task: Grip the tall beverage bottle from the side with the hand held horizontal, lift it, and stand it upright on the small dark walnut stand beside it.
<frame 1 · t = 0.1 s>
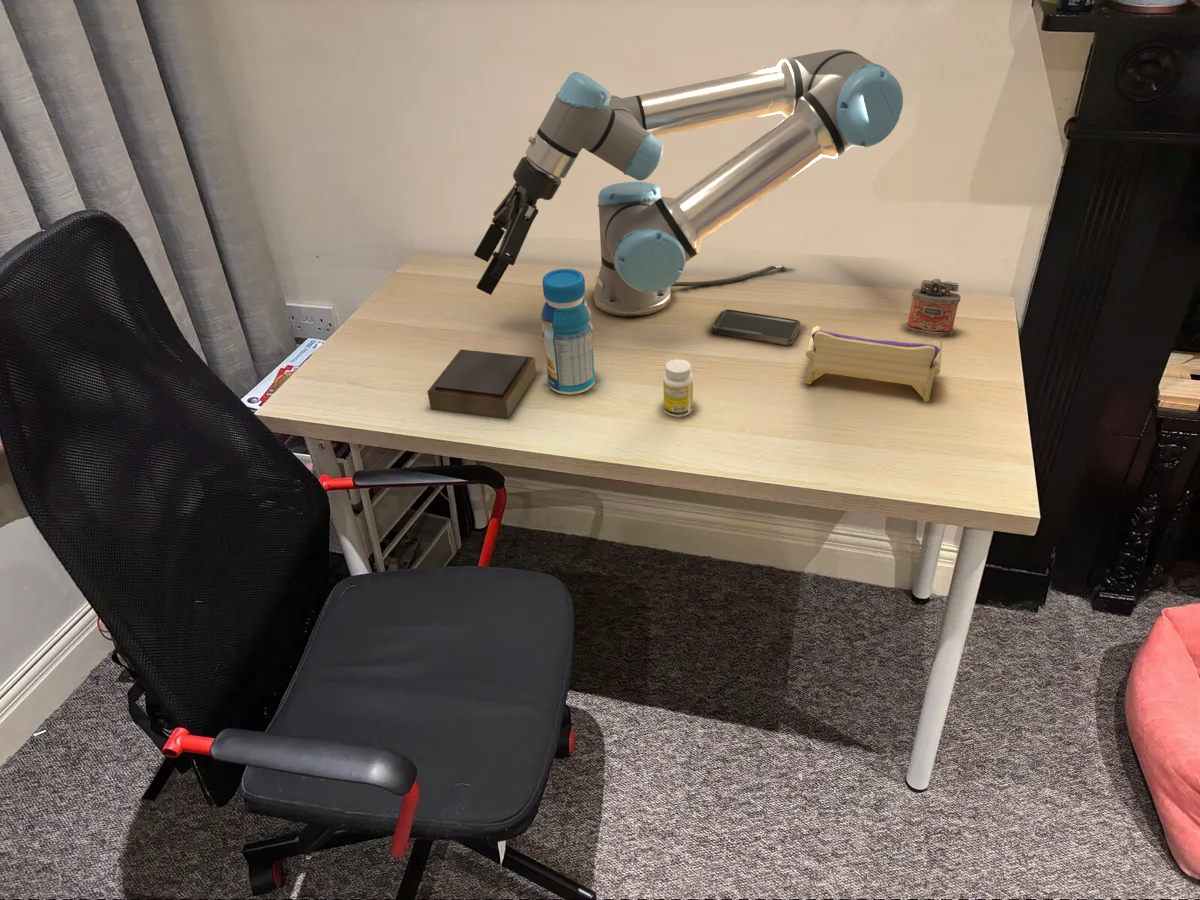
hand: (482, 274, 150), 15 cm above the table, tool tilted 35°, fingers open, 13 cm apart
toy sofa: (868, 381, 145), on the table
lighter: (928, 332, 157), on the table
beverage bottle: (571, 384, 149), on the table
walnut stand: (484, 391, 148), on the table
phone: (756, 330, 160), on the table
supplement bottle: (678, 410, 141), on the table
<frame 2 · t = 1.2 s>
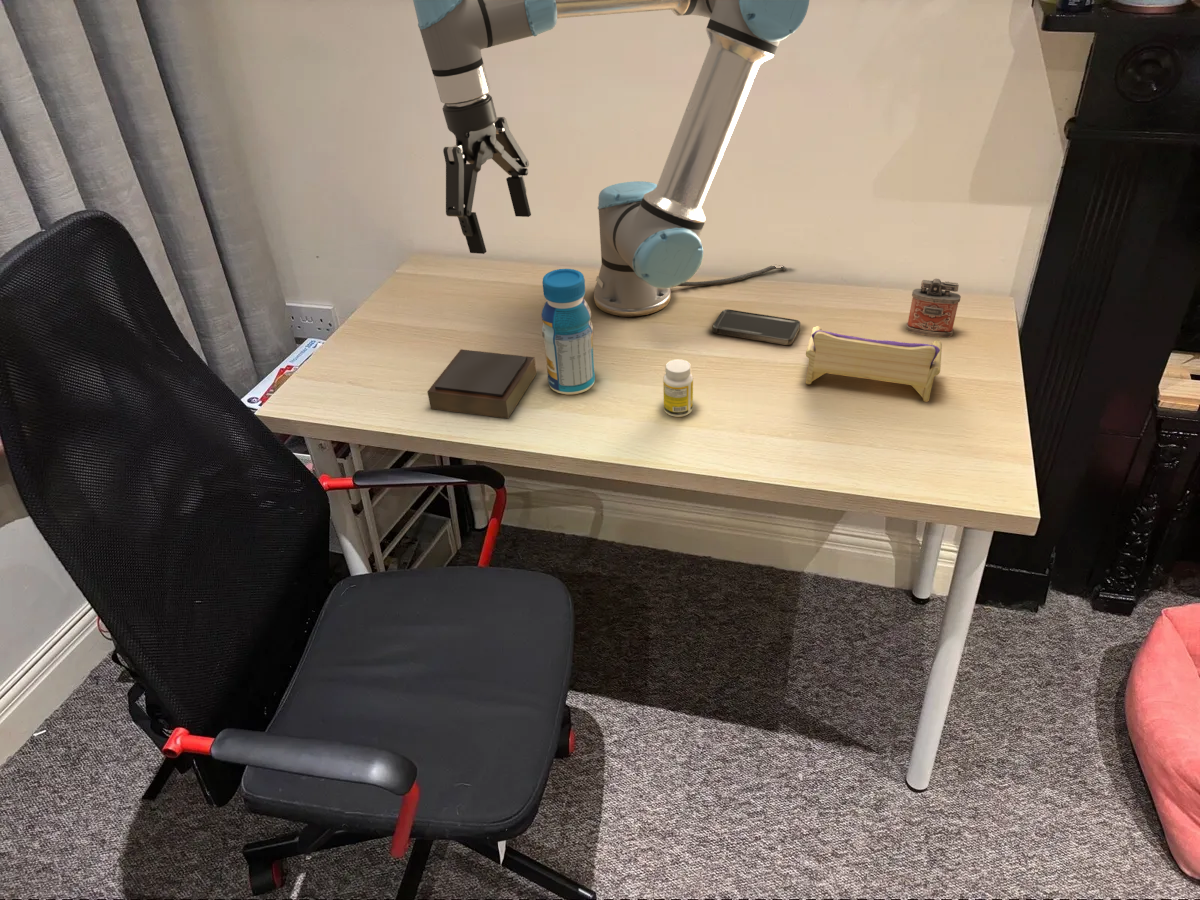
hand: (501, 233, 139), 25 cm above the table, tool pointing down, fingers open, 13 cm apart
nothing on the table moved.
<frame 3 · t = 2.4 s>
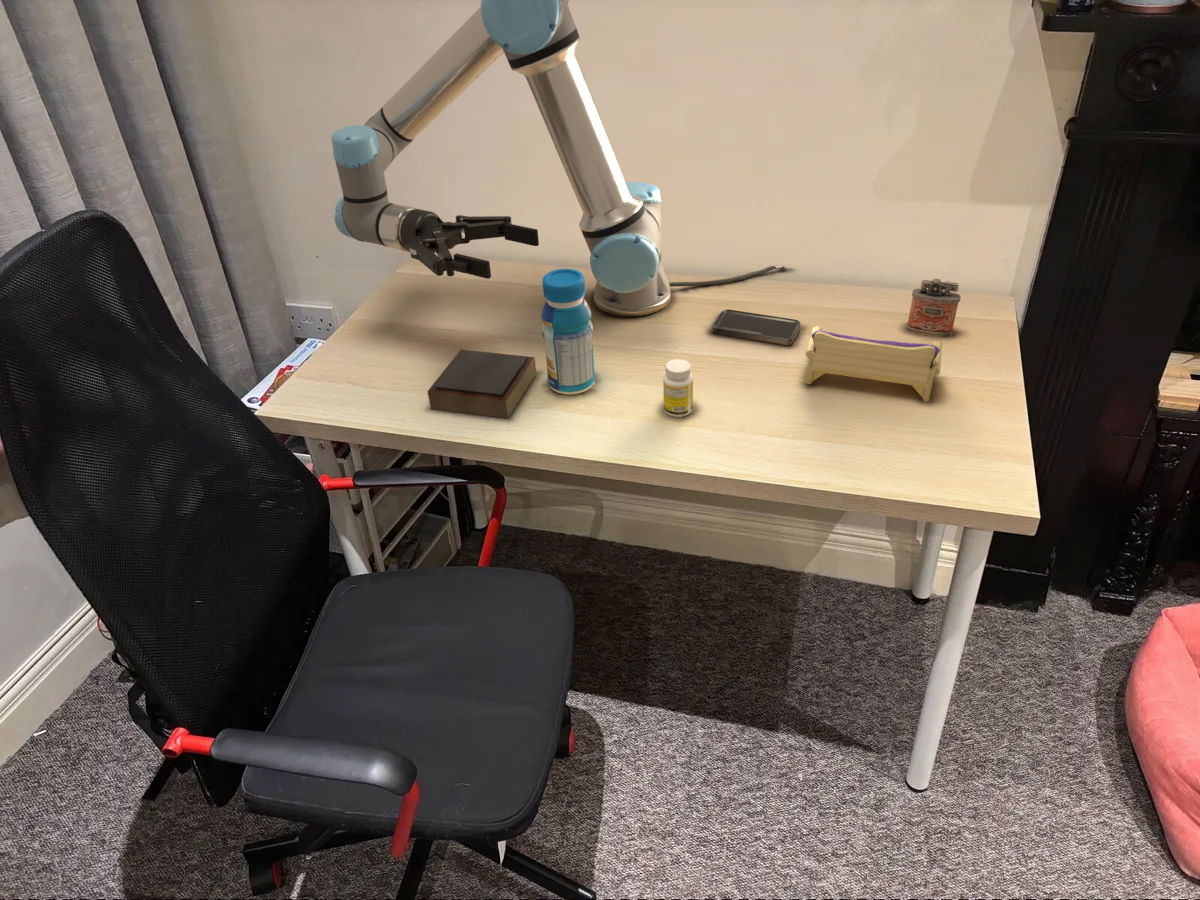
hand: (514, 253, 139), 22 cm above the table, tool horizontal, fingers open, 13 cm apart
nothing on the table moved.
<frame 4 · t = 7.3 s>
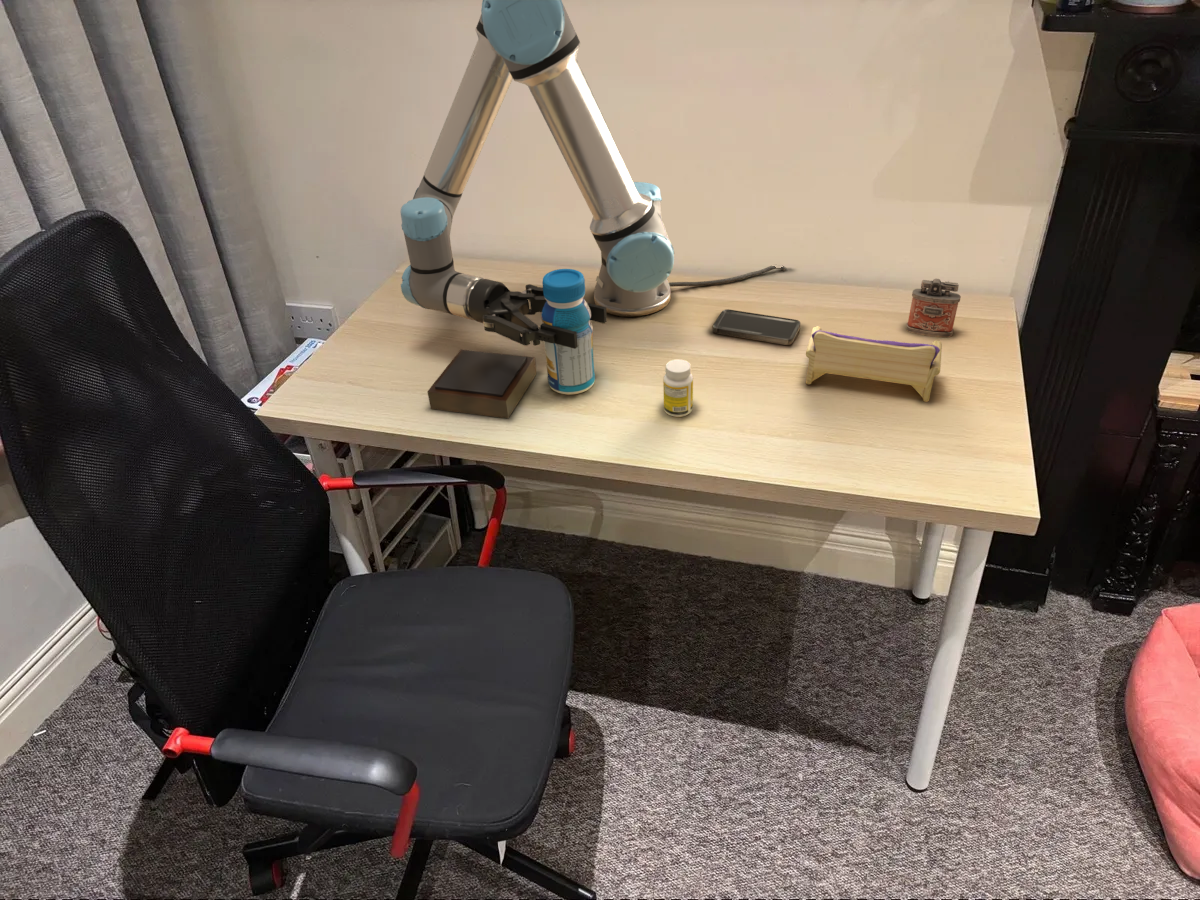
hand: (590, 327, 139), 12 cm above the table, tool horizontal, fingers closed on beverage bottle, 8 cm apart
beverage bottle: (571, 383, 149), on the table, touching gripper
everything else where it was.
when the fingers open (16 cm above the table, at t = 15.2 s): beverage bottle stays where it is, resting on walnut stand.
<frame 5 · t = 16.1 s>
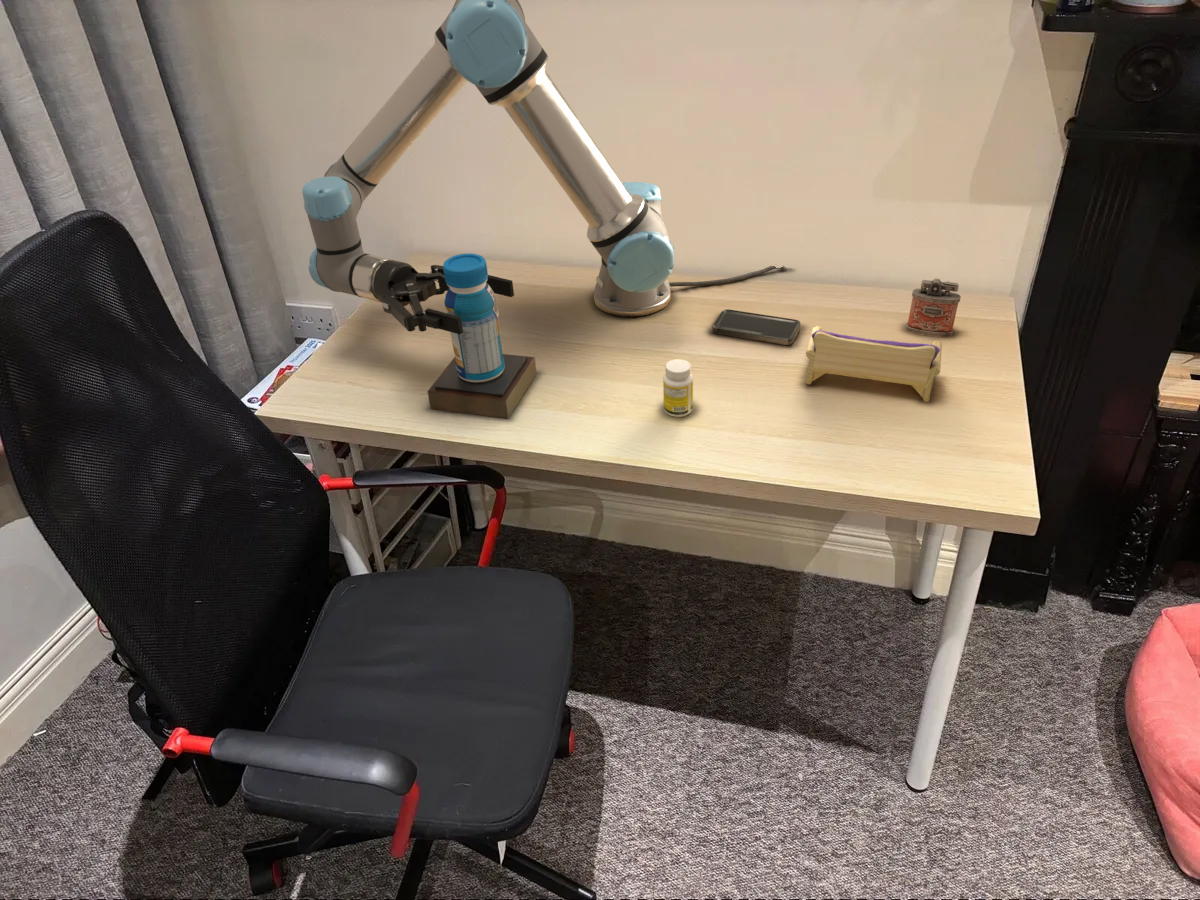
hand: (487, 306, 136), 17 cm above the table, tool horizontal, fingers open, 13 cm apart
beverage bottle: (481, 372, 146), point 4 cm above the table, touching walnut stand
everything else where it was.
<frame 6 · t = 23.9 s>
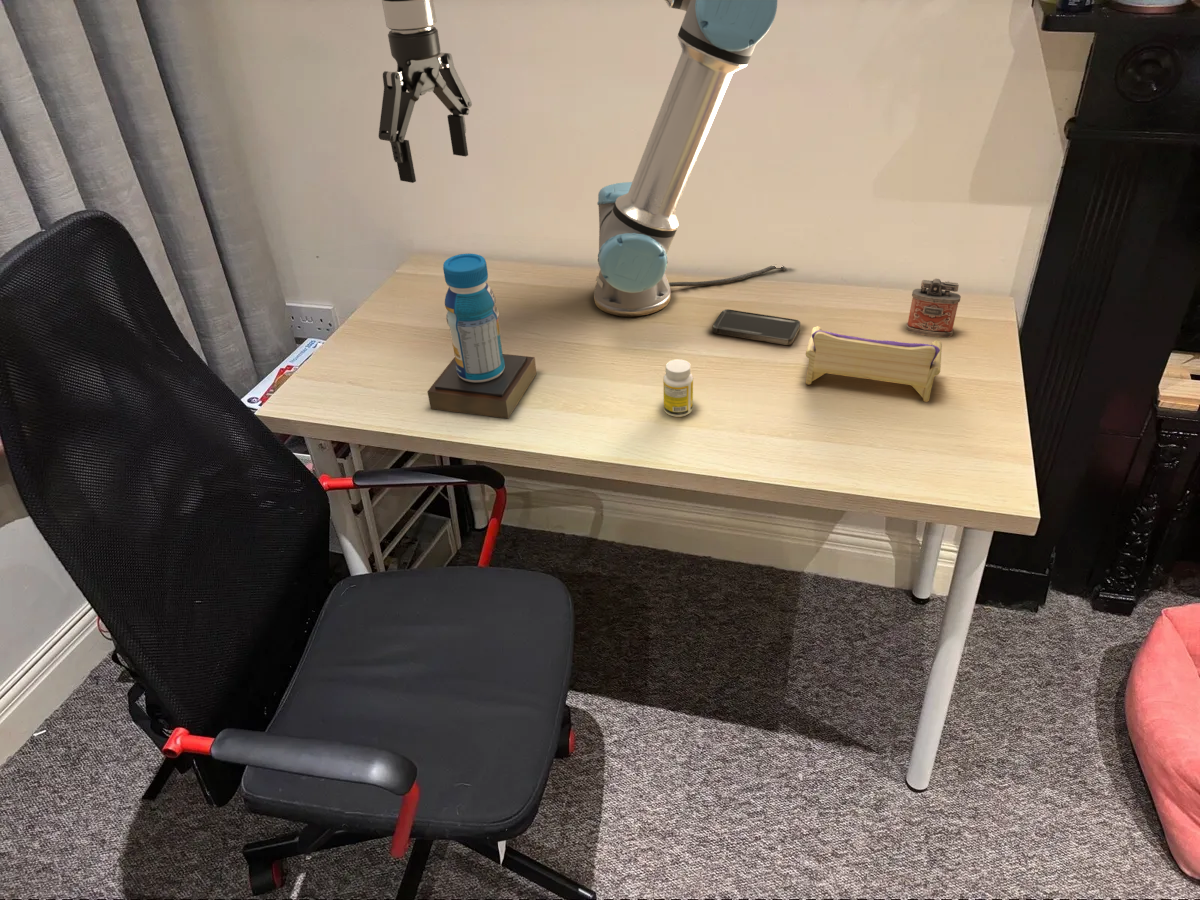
hand: (435, 167, 143), 33 cm above the table, tool pointing down, fingers open, 13 cm apart
nothing on the table moved.
at the end: beverage bottle inside the target area on the walnut stand (0.1 cm from its centre), point 3.8 cm above the walnut stand's base; beverage bottle tilted 0°; the gripper is holding nothing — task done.
